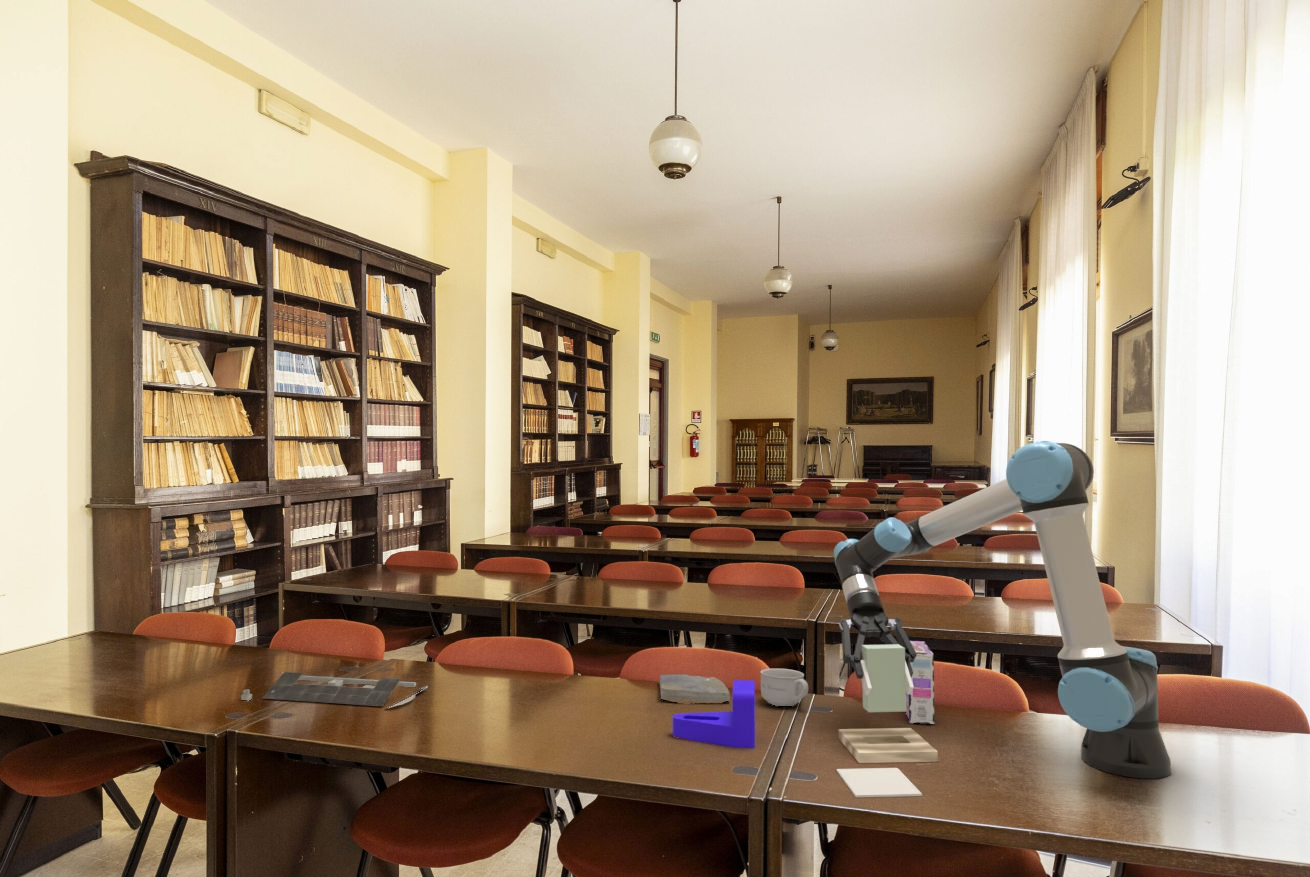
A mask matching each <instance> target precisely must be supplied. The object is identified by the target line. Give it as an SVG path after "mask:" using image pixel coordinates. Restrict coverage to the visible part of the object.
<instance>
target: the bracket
mask: <svg viewBox="0 0 1310 877" xmlns="http://www.w3.org/2000/svg"><path fill="white" fill-rule="evenodd" d="M673 736H675V737H679V738H683V739H682V740H684V739H688V740H687V741H691V740H693V741H692V742H697V741H699V742H698V743H703V742H706V743H705V744H710V745H717V746H721V747H722V746H723V747H730V748H737V749H738V748H739V749H741V748H742V749H743V748H744V749H755V747H756V680H749V679H748V680H747V679H746V680H743V679H734V680H733V686H732V711H731V710H730V711H712V712H711V711H709V712H707V711H706V712H689V713H676V714H675V713H674V715H672V737H673Z"/></svg>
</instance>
